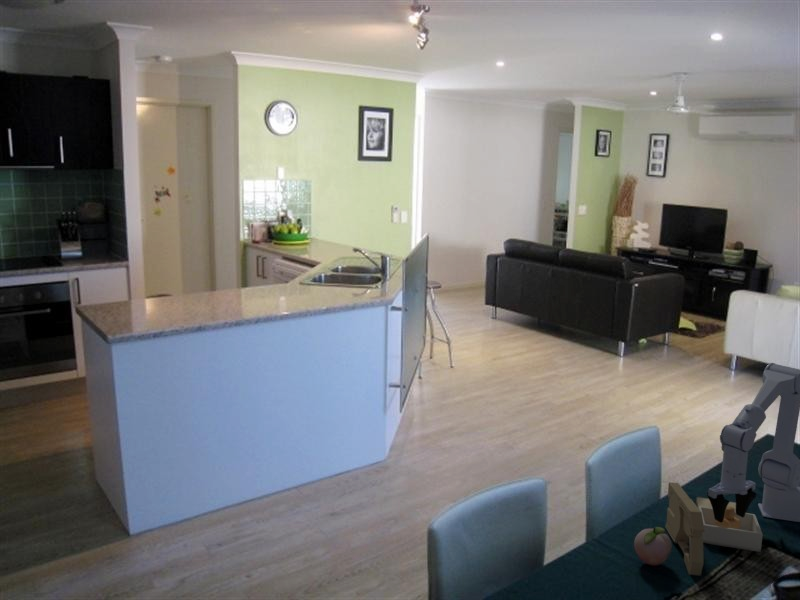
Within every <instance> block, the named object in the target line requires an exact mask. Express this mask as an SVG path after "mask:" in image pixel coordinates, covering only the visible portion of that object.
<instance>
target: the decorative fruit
mask: <svg viewBox="0 0 800 600" xmlns="http://www.w3.org/2000/svg"><path fill="white" fill-rule="evenodd" d="M665 529H666V528H663V527H660V526H655V527H653V528H644V529H641V531H639V532H638V533H637V535H636V536H635V538H634V542H633V546H634V547H633V548H634V550H635V552H636V554H637V556H638V557H639V559H640V560H641V561H642V562H644V563H645V564H646V565H648V566H649V565H650V566H653V567H654V566H659V565H662V564H663V563H664V562H665V561H666V559H667V558H669V556H670V553H671V551H672V546H673V545H672V541H671V539H670V537H669V535H668V534H666V530H665Z"/></svg>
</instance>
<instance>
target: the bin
mask: <svg viewBox="0 0 800 600" xmlns="http://www.w3.org/2000/svg"><path fill="white" fill-rule="evenodd" d="M698 508H699V510H700V511H701V513H702V518H703V524H704V532H702V537H701V538H702V539H703V544H709V545H715V546H720V547H721V546H722V547H726V548H727V547H728V548H733V549H739V550H744V551H745V550H748V551H753V552H757V553H762V552H761V551H762V543H763V536H764V535H763V532H762V528H761V526H760V524H759V522H758V518H757V516H756V514H754V513H748V512H746V514H745V516H744V517H741V516H739V515H737V514H736V511H735V512H734V517H736V518H738V519H740V520H741V522H740V529H733V528H727V527H720V526H716V522H717V520H715V518H714V513H713V508H709V507H702V506H699V507H698Z"/></svg>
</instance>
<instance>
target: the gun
mask: <svg viewBox="0 0 800 600" xmlns="http://www.w3.org/2000/svg"><path fill="white" fill-rule="evenodd" d="M667 490H668V491H667V498H668V499H669V501H668V507H667V509H666V522H665V525H664V527H665V528H664V529H666V531H667V534H668V535H669V536H670V537H671V539H672V541H673V542H674V544H675V545H678V546H679V548H680V549H681V551H682V553H683V562H684V564H685V567H686V570H687V573H688V575H689V576H690V575H691V576H702V572H703V567H704V543H703V539H702V538H701V537H702V532H704V524H703V518H702V513H701V511H700V510H699V508H698V507H697V504H696V503H695V502H694V501H693V499H692V498H690V496H689V495H688V494H687V492H686V491H685V490H684V489H683V488H682V486H681V485H680V484H679V482H670V481H669V482H668V488H667Z"/></svg>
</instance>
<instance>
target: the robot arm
mask: <svg viewBox="0 0 800 600" xmlns="http://www.w3.org/2000/svg"><path fill="white" fill-rule="evenodd" d="M779 396H780V398H779V399H780V401H779V406H778V413H777V420H776V425H775V432H774V438H773V445H772V449H770V450H768V451H765V452H764V453H762V456H761V460H760V462H759V463H758V468H757V469H758V470H757V471H758V476H759V477H760V478H761V479H762V480H761V481H762V482H763V493H762V503H758V504H757V506H758V508H759V511H760V513H761V516H762V517H763V518H770V519H776V520H783V521H791V522H795V523H797V522H798V523H800V459H799V458H798V456H797V455H796V454H795V453H794V448H795V441H796V435H797V431H798V430H797V429H798V424H799V417H800V368H794V367H791V366H787V365H781V364H776V363H774V362H770V363H768V365H766V367H765V368H764V371H763V373H762V385H761V387H760V389H759V391H758V392H757V394H756V395H755V397H754V400H753V402H752V403H751V404H746V405H744V406H743V408H742V409H741V411H739V413H738V415H737V416H736V417H735V419H734V420H733V421H732V423H729V424H726V425H725V426H723V427H722V430H721V432H720V435H719V441H720V443H721V451H723V453H722V463H721V464H722V465H721V472H720V473H721V475H720V476H721V477H720V482H719V483H717V484H716V485H714V486H712V487H710V488H708V490H707V491H708V492H707V493H706V497H707V499H709V500H710V502H711V505H712V508H713V513H714V518H715V520H717V521H719V522H723V520H724V514H725V510H726V507H727V505H728V503H729V502H731V501H730V500H728V499H726V498H725V496H726V495H730V494H731V495H732V494H733V495H734V497H735V503H736V514H737V515H739V516H741V517H744V516H745V514H746V513H747V512H748V509H749V507H750V505H751V503H752V502H753V501H754V500H755V499H756V497H757V492H755V491H756V485H757V483H756V482H754V481H752V480H750V479H749V480H747V479H746V477H747V468H748V457H749V456H748V455H749V451H750V450H751V449H752V448H753V447H754V444H755V439H756V438H757V432H758V430H759V429H760V427H761V426H762V424H763V423H764V422H765V420H766V418H767V415H766V411H767V410H768V409H769V408H770V406H771V405H772V404H773V403H774V402H775V401H776V400H777V399H778V397H779Z"/></svg>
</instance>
